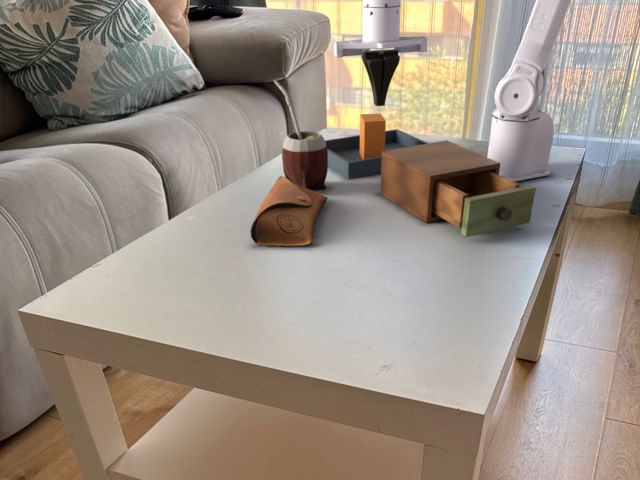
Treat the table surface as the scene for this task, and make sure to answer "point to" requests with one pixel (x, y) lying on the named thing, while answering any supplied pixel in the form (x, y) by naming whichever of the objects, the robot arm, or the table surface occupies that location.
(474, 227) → the drawer
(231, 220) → the table surface
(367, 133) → the orange wooden block
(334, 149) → the tray
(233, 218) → the table surface
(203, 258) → the table surface
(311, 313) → the table surface
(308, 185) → the mate gourd
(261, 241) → the sunglasses case
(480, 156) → the cabinet
